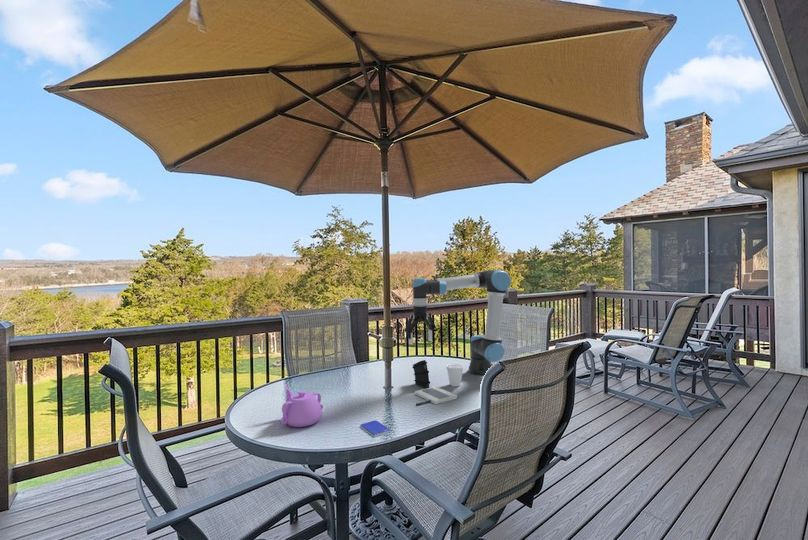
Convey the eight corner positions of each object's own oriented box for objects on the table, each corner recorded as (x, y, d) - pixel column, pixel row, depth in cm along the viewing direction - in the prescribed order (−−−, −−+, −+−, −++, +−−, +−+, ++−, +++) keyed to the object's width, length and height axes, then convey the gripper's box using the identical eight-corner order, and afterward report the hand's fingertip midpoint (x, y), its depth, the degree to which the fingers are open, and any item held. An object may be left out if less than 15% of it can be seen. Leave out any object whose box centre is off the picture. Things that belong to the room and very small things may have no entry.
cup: (463, 382, 229) (463, 363, 229) (464, 388, 219) (464, 368, 219) (446, 382, 230) (446, 363, 230) (446, 387, 220) (446, 368, 220)
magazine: (427, 387, 216) (420, 360, 221) (416, 391, 226) (410, 365, 232) (433, 386, 218) (426, 359, 223) (422, 390, 228) (415, 364, 234)
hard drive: (391, 429, 166) (376, 419, 176) (374, 434, 161) (360, 424, 172) (391, 433, 166) (376, 423, 176) (374, 438, 161) (360, 427, 172)
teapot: (305, 407, 195) (304, 380, 194) (334, 418, 181) (333, 388, 181) (264, 422, 178) (263, 392, 177) (293, 435, 164) (292, 402, 164)
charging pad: (435, 389, 219) (435, 386, 219) (457, 398, 203) (456, 395, 203) (400, 397, 206) (400, 394, 206) (420, 408, 191) (420, 405, 191)
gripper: (433, 303, 233) (434, 338, 234) (397, 306, 220) (398, 344, 221) (441, 304, 227) (442, 340, 228) (405, 308, 214) (406, 346, 214)
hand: (420, 342), depth 224 cm, fingers open, 13 cm apart
